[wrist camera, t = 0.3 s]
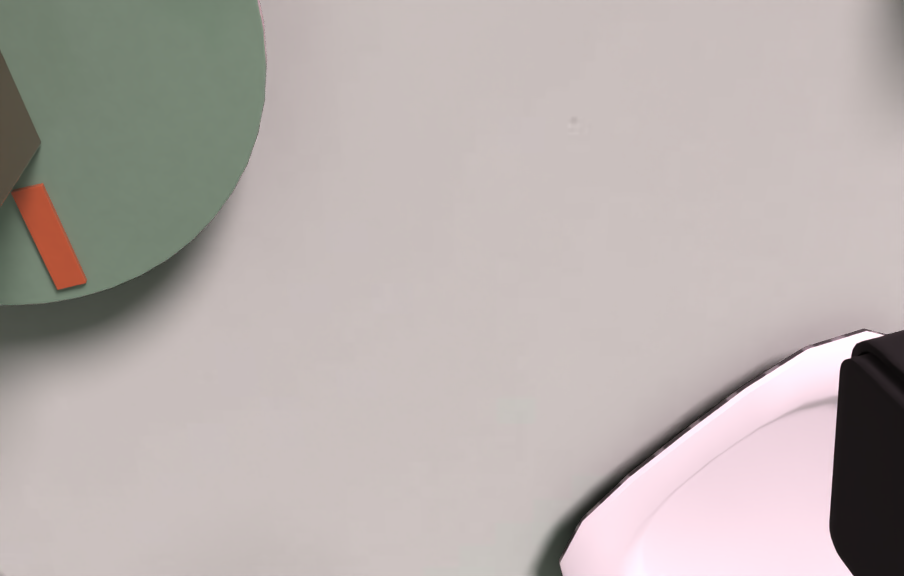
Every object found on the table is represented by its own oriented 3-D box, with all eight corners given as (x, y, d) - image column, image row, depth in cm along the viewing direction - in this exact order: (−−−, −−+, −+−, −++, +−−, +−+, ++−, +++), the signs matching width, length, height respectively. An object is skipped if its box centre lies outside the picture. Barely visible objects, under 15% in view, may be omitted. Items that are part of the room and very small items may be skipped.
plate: (720, 697, 45) (735, 727, 44) (501, 542, 36) (511, 573, 35) (1025, 491, 41) (1053, 517, 40) (860, 262, 33) (887, 284, 31)
